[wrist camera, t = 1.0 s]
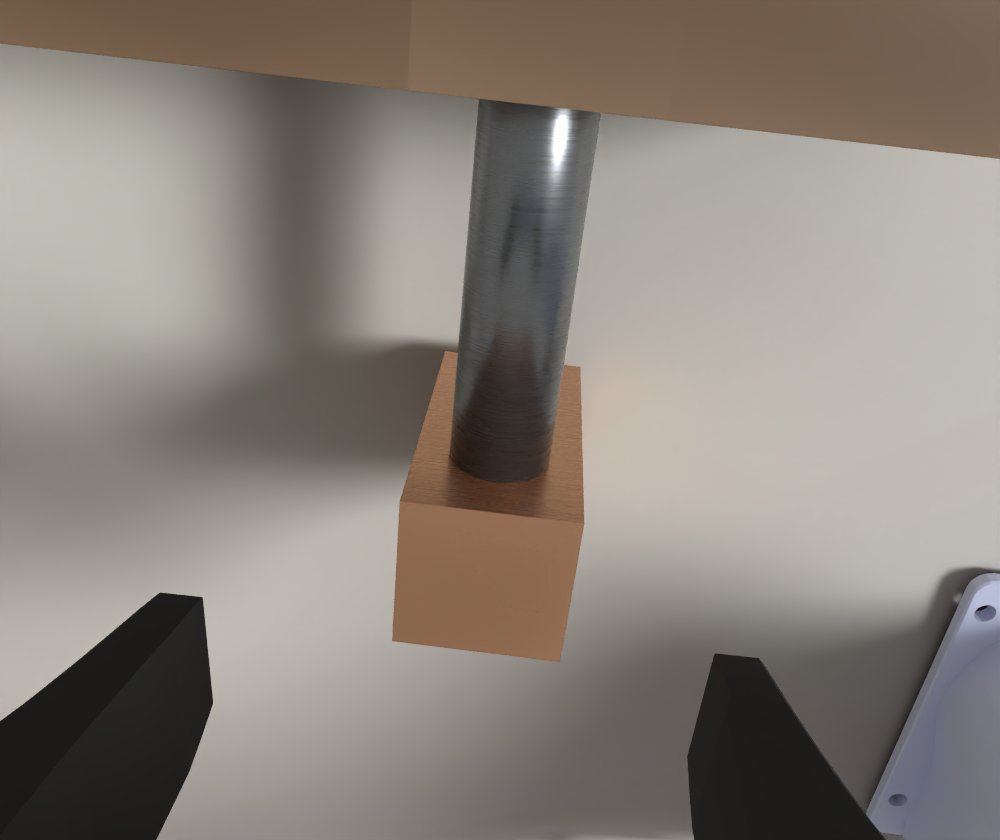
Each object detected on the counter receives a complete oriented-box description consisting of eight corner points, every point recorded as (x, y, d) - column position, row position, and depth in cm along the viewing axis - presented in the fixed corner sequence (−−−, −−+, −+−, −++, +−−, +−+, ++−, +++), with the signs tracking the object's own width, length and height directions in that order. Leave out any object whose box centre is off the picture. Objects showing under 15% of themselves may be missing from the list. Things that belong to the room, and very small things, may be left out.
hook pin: (562, 481, 21) (559, 661, 16) (436, 466, 21) (392, 640, 16) (664, -173, 15) (717, -237, 10) (486, -193, 15) (440, -267, 10)
